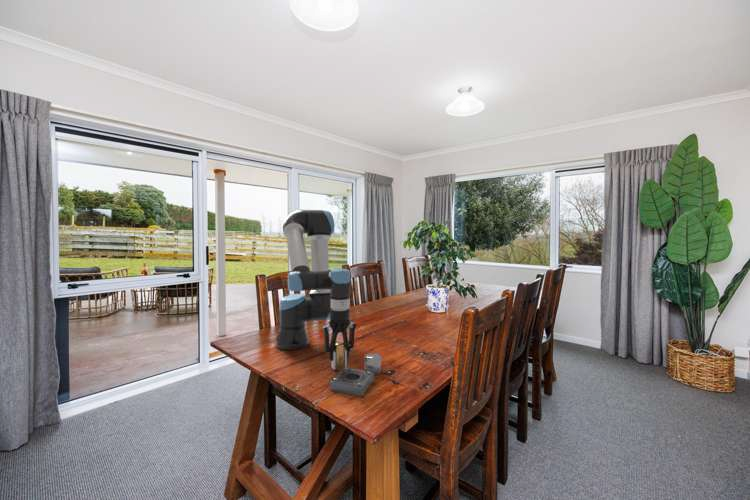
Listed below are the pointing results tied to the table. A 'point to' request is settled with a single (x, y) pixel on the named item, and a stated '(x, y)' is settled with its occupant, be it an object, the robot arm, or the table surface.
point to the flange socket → (352, 381)
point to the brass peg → (339, 355)
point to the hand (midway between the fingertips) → (339, 366)
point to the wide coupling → (373, 363)
